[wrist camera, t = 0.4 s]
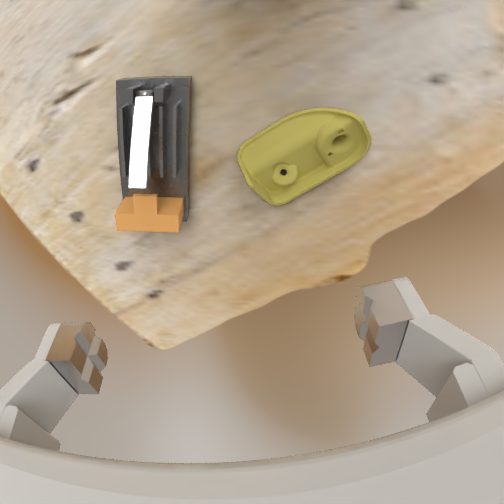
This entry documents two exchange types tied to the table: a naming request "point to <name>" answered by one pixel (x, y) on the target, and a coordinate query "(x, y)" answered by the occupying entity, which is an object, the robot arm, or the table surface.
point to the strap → (141, 139)
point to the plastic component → (302, 152)
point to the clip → (150, 213)
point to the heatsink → (158, 135)
